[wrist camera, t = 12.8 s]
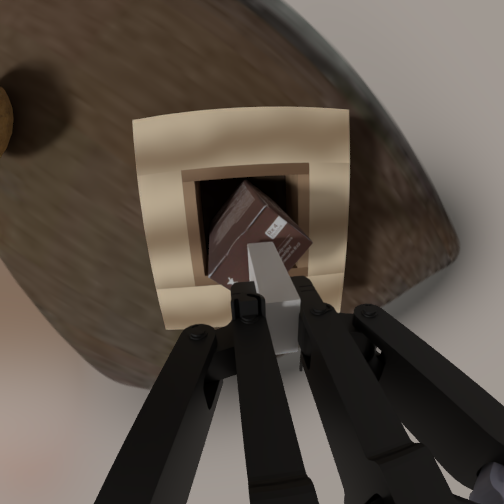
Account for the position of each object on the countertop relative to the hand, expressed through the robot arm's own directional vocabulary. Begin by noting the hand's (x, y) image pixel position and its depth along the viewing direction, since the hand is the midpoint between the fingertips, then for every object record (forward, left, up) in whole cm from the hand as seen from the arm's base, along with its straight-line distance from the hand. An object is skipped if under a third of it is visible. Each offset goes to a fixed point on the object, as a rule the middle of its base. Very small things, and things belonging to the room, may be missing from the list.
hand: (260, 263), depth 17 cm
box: (0, 0, -13) cm, 13 cm away
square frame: (0, 0, -13) cm, 13 cm away
